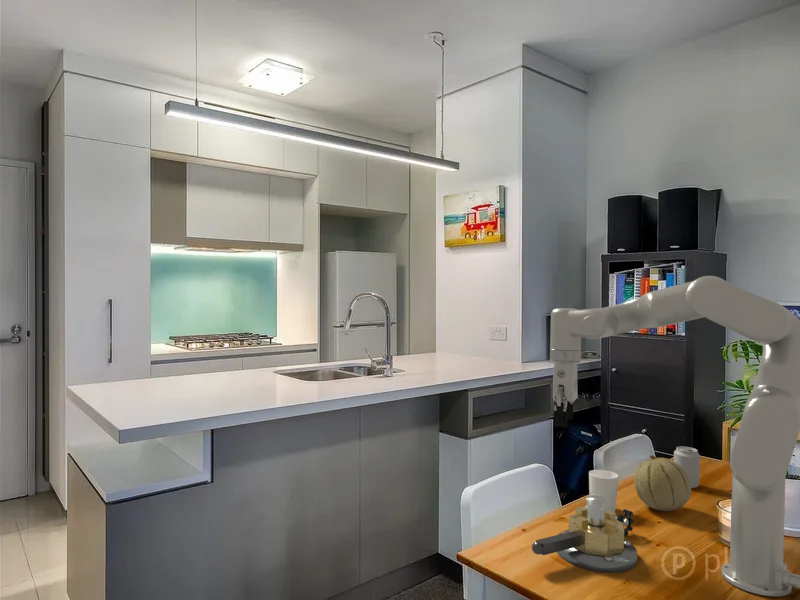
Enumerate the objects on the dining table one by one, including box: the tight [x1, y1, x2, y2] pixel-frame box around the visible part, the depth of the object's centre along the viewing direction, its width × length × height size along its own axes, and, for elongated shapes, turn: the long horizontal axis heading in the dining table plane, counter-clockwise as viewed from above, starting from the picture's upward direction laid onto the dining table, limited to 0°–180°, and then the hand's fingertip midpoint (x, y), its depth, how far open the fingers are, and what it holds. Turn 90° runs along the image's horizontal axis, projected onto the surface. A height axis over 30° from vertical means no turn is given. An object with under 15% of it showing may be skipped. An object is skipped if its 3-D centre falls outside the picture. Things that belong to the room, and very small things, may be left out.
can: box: [673, 446, 701, 489], centre depth 177 cm, size 8×8×12 cm
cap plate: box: [556, 494, 638, 574], centre depth 129 cm, size 18×18×13 cm
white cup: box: [588, 469, 619, 513], centre depth 156 cm, size 8×8×10 cm
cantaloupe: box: [633, 454, 692, 512], centre depth 157 cm, size 15×15×15 cm
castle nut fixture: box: [531, 506, 625, 556], centre depth 126 cm, size 25×12×7 cm, turn 117°
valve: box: [584, 496, 635, 537], centre depth 144 cm, size 7×7×12 cm
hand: (563, 422), depth 141 cm, fingers open, 9 cm apart
